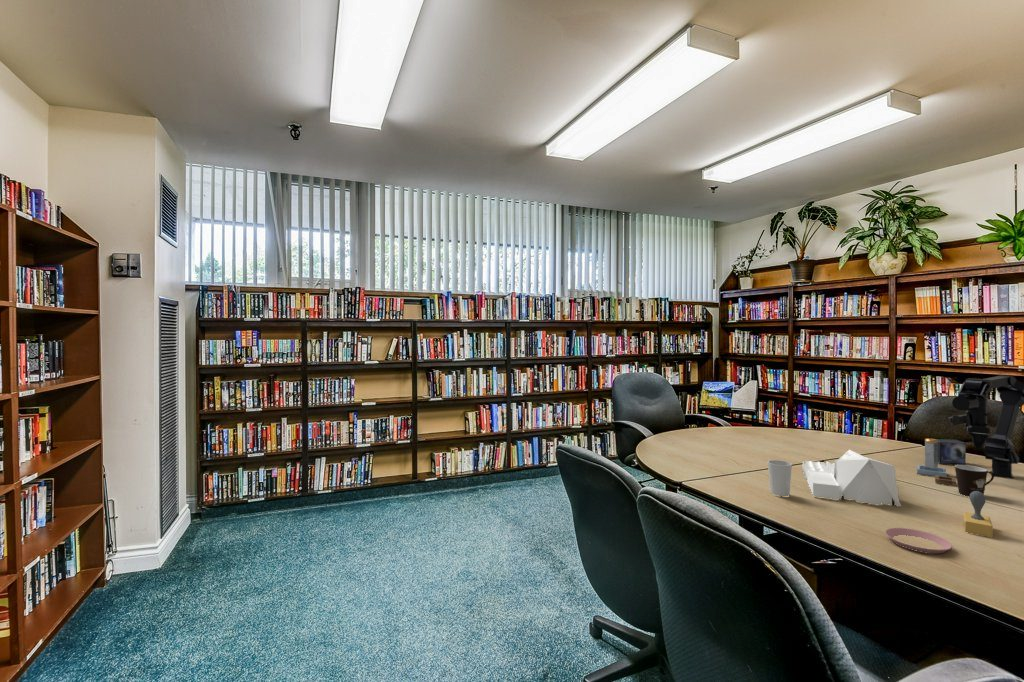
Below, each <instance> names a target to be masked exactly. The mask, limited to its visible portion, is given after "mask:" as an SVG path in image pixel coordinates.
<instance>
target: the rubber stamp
mask: <svg viewBox="0 0 1024 682" xmlns="http://www.w3.org/2000/svg"><path fill="white" fill-rule="evenodd" d="M969 501H970V503H971V505H972V507H973V509H974V513H973V512H968V511H964V512H963V514H962V515H963V517H962V518H963V519H962V521H963V528H964V532H965V533H966V532H968V533H967V534H969V533H973V534H972V535H974V534H978V535H977V536H979V535H983V536H982V537H984V536H988V537H987V538H989V537H992V538H993V536H994V535H993V533H994V530H993V526H994V525H993V523H992V520H991V517H990V516H989V515H986V514H981V513H982V509H983V507H984V506H985V503H986V502H987V499H986V495H985V493H984V494H983V493H981V492H979V491H973V492H972V493H971V494H970V497H969Z"/></svg>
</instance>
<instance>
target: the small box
mask: <svg viewBox="0 0 1024 682" xmlns="http://www.w3.org/2000/svg"><path fill="white" fill-rule="evenodd" d="M937 440H938V465H948V464H952V465H953V466H955V465H957V464H958V465H966V461H967V460H966V455H967V454H966V453H967V452H966V451H967V448H966V447H967V443H966V442H964V441H961V440H958V439H946V438H945V439H942V438H941V439H939V438H937ZM954 464H955V465H954ZM952 465H951V466H952Z"/></svg>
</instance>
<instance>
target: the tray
mask: <svg viewBox="0 0 1024 682" xmlns="http://www.w3.org/2000/svg"><path fill="white" fill-rule="evenodd" d="M916 467H917V468H916V469H917V470H916V471H917V472H916V475H918V474H922V475H921V476H925V475H928V476H927V477H932V476H935V475H938V476H945V477H947V470H946V468H944V467H938V472H937V471H929V470H925V465H921V464H917V465H916Z"/></svg>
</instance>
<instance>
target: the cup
mask: <svg viewBox="0 0 1024 682" xmlns="http://www.w3.org/2000/svg"><path fill="white" fill-rule="evenodd" d="M767 469H768V477H769V488H770V491H769V493H770V492H771V493H772V494H775V495H779V496H788V495H790V496H791V493H790V492H791V483H792V481H791V479H792V469H793V463H792V462H790V461H786V460H779V459H769V460H768V461H767Z"/></svg>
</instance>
